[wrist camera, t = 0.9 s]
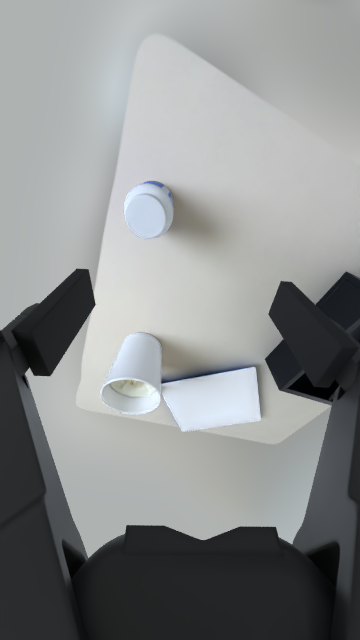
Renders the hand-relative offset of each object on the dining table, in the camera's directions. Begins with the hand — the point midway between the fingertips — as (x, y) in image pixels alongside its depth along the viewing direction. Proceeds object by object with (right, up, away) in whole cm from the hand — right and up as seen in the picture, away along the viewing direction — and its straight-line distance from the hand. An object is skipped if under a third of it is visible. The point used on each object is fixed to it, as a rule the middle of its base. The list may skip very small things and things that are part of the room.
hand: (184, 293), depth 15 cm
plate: (+8, -22, +39) cm, 46 cm away
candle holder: (-8, -8, +29) cm, 31 cm away
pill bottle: (-4, +14, +14) cm, 20 cm away
